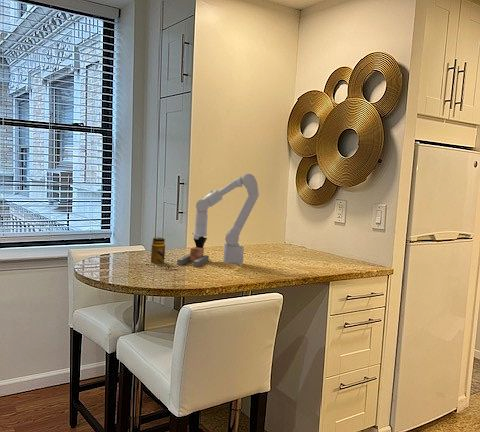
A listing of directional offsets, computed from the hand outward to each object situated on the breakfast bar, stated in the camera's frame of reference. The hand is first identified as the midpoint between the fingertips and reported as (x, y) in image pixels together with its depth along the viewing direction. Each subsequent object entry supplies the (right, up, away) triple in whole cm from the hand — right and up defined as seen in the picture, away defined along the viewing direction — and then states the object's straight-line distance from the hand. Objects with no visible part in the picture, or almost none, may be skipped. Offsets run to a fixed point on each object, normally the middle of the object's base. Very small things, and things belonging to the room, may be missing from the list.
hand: (199, 252), depth 233 cm
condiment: (-19, -5, -14) cm, 24 cm away
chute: (-2, -5, -8) cm, 10 cm away
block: (-1, -4, -3) cm, 5 cm away
